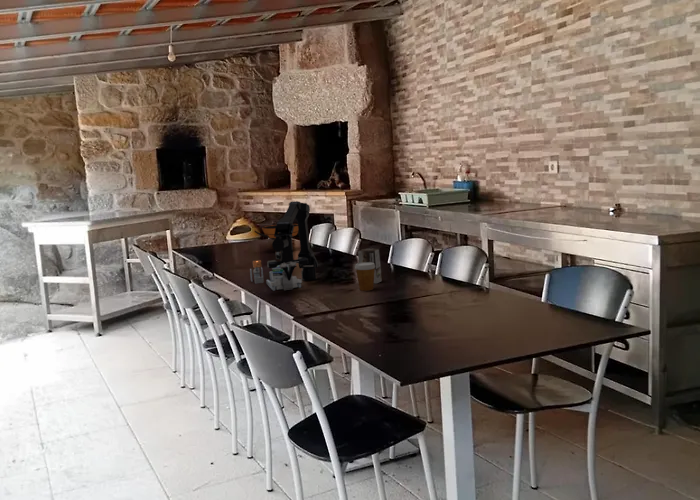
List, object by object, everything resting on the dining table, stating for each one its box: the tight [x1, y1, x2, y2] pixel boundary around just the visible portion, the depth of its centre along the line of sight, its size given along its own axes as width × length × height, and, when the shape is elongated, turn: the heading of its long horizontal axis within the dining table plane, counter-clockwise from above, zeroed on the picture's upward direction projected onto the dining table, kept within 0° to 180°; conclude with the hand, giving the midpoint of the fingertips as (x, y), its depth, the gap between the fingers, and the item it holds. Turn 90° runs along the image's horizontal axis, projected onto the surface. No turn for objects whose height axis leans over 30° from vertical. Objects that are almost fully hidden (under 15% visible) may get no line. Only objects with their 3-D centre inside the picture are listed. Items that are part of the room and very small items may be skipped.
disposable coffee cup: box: [354, 262, 375, 292], centre depth 301 cm, size 10×10×12 cm
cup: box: [254, 223, 299, 253], centre depth 443 cm, size 36×26×18 cm
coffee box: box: [357, 248, 383, 284], centre depth 317 cm, size 9×6×16 cm
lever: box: [252, 259, 263, 275], centre depth 340 cm, size 4×10×4 cm
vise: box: [249, 267, 302, 292], centre depth 330 cm, size 20×33×6 cm, turn 16°
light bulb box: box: [271, 264, 289, 288], centre depth 325 cm, size 11×7×11 cm, turn 168°
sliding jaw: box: [270, 271, 303, 291], centre depth 314 cm, size 15×7×9 cm, turn 106°
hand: (289, 280), depth 308 cm, fingers closed
